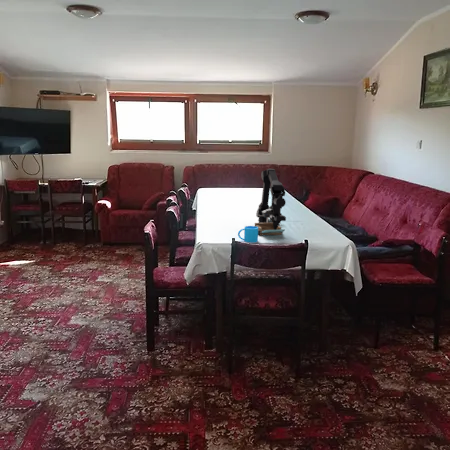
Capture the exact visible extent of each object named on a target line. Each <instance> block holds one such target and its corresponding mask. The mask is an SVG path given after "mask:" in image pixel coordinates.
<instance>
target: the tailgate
mask: <svg viewBox="0 0 450 450" xmlns="http://www.w3.org/2000/svg"><path fill="white" fill-rule="evenodd" d="M285 231H286V229H284V228H283V229H282V228H281V229H279V230H264V231H262V232H261V233H278V232H283V233H284V232H285Z"/></svg>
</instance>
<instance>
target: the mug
mask: <svg viewBox="0 0 450 450" xmlns="http://www.w3.org/2000/svg"><path fill="white" fill-rule="evenodd" d="M242 231H244V235H243V237H241V235H240V233H241V232H242ZM237 233H238V234H237V236H238V238H239V239H240V240H242V241H244V242H246V243H257V242H258V241H259V235H258V227H256V226H255V225H246V226H244V228H241V229H240V230H239V231H238V232H237Z"/></svg>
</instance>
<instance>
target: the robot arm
mask: <svg viewBox="0 0 450 450" xmlns="http://www.w3.org/2000/svg"><path fill="white" fill-rule="evenodd" d="M260 176H261V180H262V182H263V186H262V193H261V202H260V204H259V205H258V208H257V210H256V213H255V214H256V218H258V223H267V217H270V218H269V219H270V220H271V222H272V223H273V228H274V230H276V229H277V227H278V226H280V224H281V223H280V222H286V221H287V217H286V216H285V215H283V214H282V213H281V210H282V208H283V207H285V205H286V203H287V202H286V199H285V198H283V197H285V196H286V189H285V187H284V185H283V184H282V183H283V182H280V181H279V179H278V176H277V173H276V169H274V168H268V169H265V170H262V171H261V175H260ZM270 194H271V204H270V205H269V199H270ZM279 223H280V224H279Z"/></svg>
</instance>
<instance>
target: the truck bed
mask: <svg viewBox="0 0 450 450" xmlns="http://www.w3.org/2000/svg"><path fill="white" fill-rule="evenodd" d="M254 226H256V227H258V236H259V235H260V236H278V235H279V236H281V235H282V234H283V233H284V231H283V232H278V233H261V232H262V231H264V230H274V228H273V223H272V221H270V222H269V221H268V222H267V223H259V222H254ZM279 229H282V227H281V226H280V225H278V227H277V229H276V230H279Z"/></svg>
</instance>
